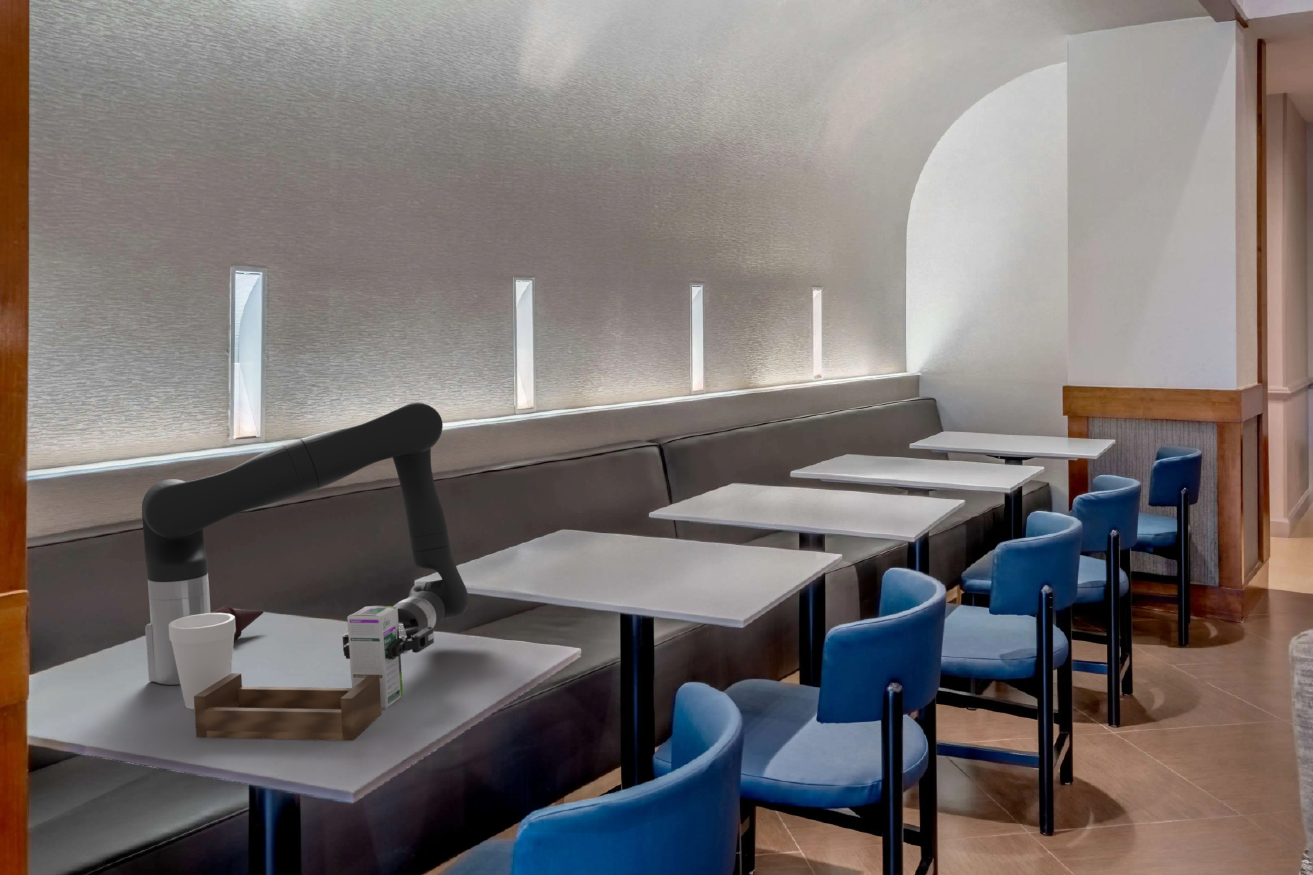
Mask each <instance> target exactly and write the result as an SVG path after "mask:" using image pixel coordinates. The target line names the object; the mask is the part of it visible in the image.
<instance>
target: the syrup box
mask: <svg viewBox="0 0 1313 875" xmlns="http://www.w3.org/2000/svg"><path fill="white" fill-rule="evenodd" d="M346 618H347V631H348V636H349V652H350V659H349V663H350V665H349V666H350V677H351V678H350V679H351V688H354V687H355V686H356V685H357V684H359V683H360V682H361V681H362V680H364V679H365V678H366V677H367V676H368V675H379V677H380V698H381V710H383V709H385V710H387V709H389V707H390V706H391V705H393V704H394V703H395V702H398V700H400V699H401V698H403V696H404V691H403V689H404V688H403V675H402V661H401V660H402V659H401V658H402V657H401V656H402V655H400V656H397V657H396V658H395V659H388V645H389V644H391V643H392V642H393V641H394V640H396V639H399V624H398V609H397V607H392V606H391V605H390V606H388V605H371V606H364V607H362V608H361V609H359V610H358V611H356V612H354V613H351V614H349V615H348V616H347V617H346Z"/></svg>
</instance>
